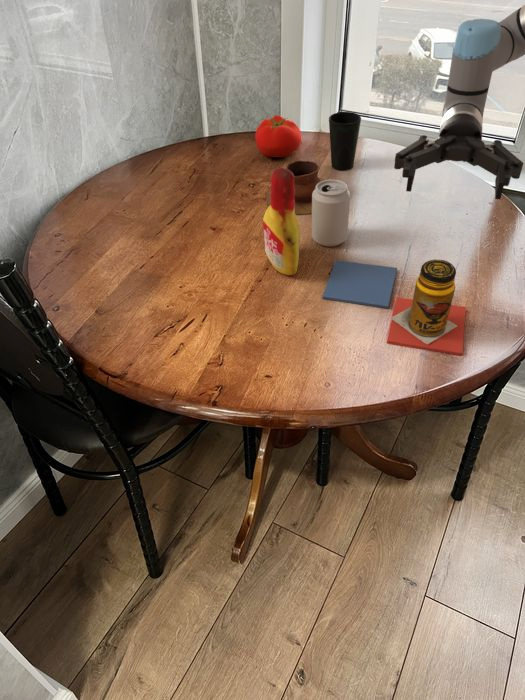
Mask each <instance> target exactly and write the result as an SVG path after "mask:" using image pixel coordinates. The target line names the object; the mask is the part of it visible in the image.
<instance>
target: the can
mask: <svg viewBox="0 0 525 700" xmlns="http://www.w3.org/2000/svg"><path fill="white" fill-rule="evenodd" d="M350 202H351V192H350V190H349V189H348V185H347V184H346V183H345V182H344V181H342V180H339V179H324V181H321V182H319V183H318V184H317V185H316V187H315V190H314V191H313V193H312V213H311V238H312V240H313V241H314V242H315V243H317V244H318V245H320V246H322V247H328V248H329V247H336V246H339V245H341V244H343V242H345V241H346V240H347V239H348V233H349V219H350V218H349V217H350Z"/></svg>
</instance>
